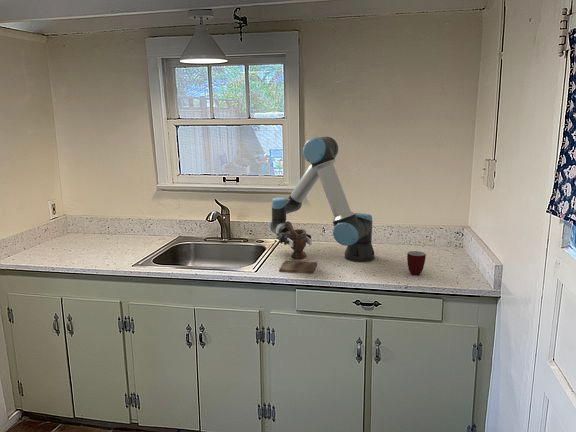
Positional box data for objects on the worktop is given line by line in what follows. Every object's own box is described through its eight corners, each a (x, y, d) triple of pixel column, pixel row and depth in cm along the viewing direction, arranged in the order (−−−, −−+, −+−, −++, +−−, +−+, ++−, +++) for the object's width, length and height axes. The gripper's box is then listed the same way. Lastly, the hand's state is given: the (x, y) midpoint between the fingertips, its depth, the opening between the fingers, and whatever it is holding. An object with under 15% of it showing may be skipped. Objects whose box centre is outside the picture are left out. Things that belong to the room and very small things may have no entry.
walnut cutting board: (316, 264, 235) (317, 262, 234) (313, 273, 221) (313, 271, 221) (285, 262, 238) (284, 260, 237) (279, 271, 224) (279, 269, 224)
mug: (404, 269, 226) (405, 249, 224) (421, 270, 226) (422, 249, 224) (407, 277, 216) (409, 255, 214) (426, 277, 216) (427, 256, 214)
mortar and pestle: (302, 263, 222) (300, 222, 216) (285, 262, 225) (282, 222, 219) (309, 254, 232) (307, 215, 227) (292, 253, 235) (290, 214, 230)
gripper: (304, 237, 248) (322, 249, 227) (265, 240, 240) (280, 253, 220) (304, 223, 246) (322, 233, 225) (265, 226, 239) (280, 237, 218)
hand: (301, 243), depth 222 cm, fingers closed on mortar and pestle, 8 cm apart
